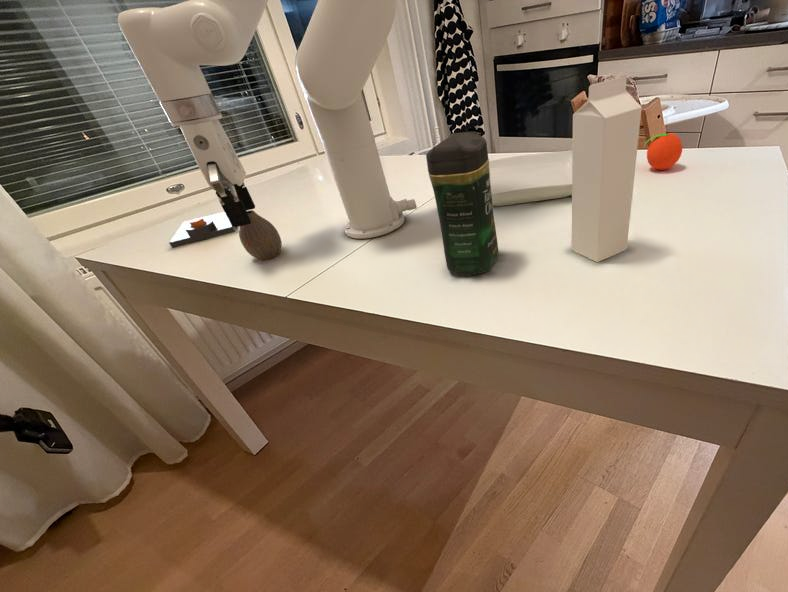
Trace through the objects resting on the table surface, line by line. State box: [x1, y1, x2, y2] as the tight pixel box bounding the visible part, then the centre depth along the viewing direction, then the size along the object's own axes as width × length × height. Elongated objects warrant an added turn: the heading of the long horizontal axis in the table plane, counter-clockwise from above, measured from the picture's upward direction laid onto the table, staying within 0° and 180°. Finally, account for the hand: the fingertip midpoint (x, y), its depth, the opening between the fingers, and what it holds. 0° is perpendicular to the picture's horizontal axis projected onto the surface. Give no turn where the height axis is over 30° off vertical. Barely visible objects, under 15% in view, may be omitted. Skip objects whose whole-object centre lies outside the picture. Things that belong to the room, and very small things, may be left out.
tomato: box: [643, 132, 683, 171], centre depth 84 cm, size 8×7×7 cm
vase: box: [238, 209, 283, 261], centre depth 77 cm, size 7×7×9 cm
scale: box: [168, 211, 238, 249], centre depth 98 cm, size 14×16×3 cm
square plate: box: [489, 149, 573, 207], centre depth 88 cm, size 27×27×4 cm
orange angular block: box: [188, 217, 206, 228], centre depth 92 cm, size 3×3×2 cm
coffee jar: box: [425, 131, 499, 276], centre depth 58 cm, size 10×8×19 cm
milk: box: [570, 75, 643, 263], centre depth 55 cm, size 6×6×22 cm
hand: (245, 217), depth 74 cm, fingers open, 9 cm apart
